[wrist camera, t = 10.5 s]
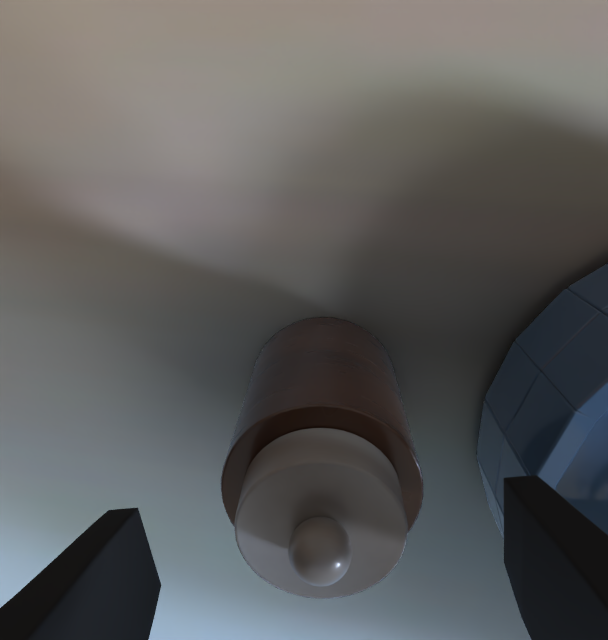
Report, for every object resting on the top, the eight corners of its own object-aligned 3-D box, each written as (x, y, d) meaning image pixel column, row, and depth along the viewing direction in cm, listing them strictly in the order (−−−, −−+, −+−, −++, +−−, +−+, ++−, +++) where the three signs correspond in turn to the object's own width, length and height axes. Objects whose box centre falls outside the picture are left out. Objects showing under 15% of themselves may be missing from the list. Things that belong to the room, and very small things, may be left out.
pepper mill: (334, 467, 17) (337, 697, 10) (225, 392, 16) (150, 586, 9) (424, 373, 16) (499, 565, 9) (311, 287, 15) (296, 424, 8)
